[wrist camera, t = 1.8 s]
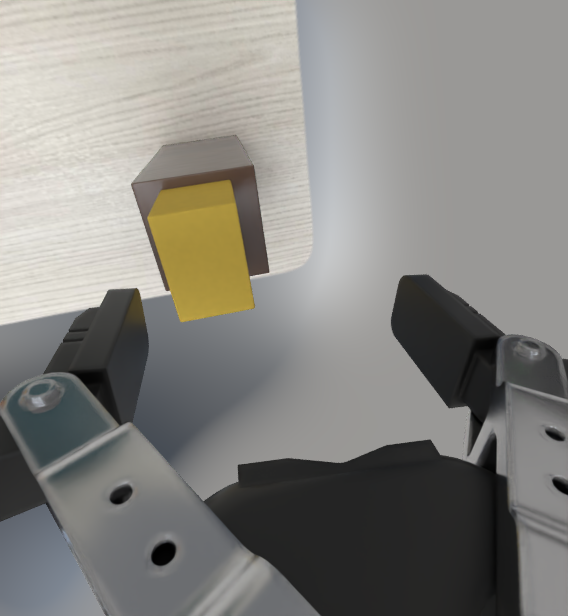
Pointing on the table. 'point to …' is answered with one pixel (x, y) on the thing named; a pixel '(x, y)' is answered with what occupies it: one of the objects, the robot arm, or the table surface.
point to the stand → (199, 170)
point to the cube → (202, 250)
